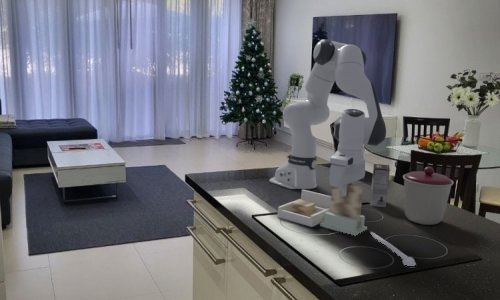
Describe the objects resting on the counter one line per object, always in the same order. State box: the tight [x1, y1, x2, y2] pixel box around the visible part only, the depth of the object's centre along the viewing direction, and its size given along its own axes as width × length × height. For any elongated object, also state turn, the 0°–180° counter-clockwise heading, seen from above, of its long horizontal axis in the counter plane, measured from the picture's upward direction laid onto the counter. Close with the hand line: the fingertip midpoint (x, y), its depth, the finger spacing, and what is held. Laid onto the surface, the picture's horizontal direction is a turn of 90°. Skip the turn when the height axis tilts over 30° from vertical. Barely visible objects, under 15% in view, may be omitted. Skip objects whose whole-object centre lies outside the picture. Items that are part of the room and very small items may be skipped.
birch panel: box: [330, 184, 364, 226], centre depth 180 cm, size 11×2×14 cm, turn 52°
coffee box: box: [370, 163, 391, 208], centre depth 212 cm, size 9×6×16 cm
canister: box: [402, 166, 455, 226], centre depth 192 cm, size 18×18×21 cm
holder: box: [319, 212, 368, 237], centre depth 182 cm, size 14×9×5 cm, turn 52°
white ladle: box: [370, 231, 417, 267], centre depth 164 cm, size 28×4×3 cm, turn 14°
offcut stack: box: [292, 199, 315, 217], centre depth 190 cm, size 7×6×6 cm
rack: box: [277, 189, 331, 228], centre depth 191 cm, size 15×15×8 cm
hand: (346, 194), depth 180 cm, fingers closed on birch panel, 2 cm apart
